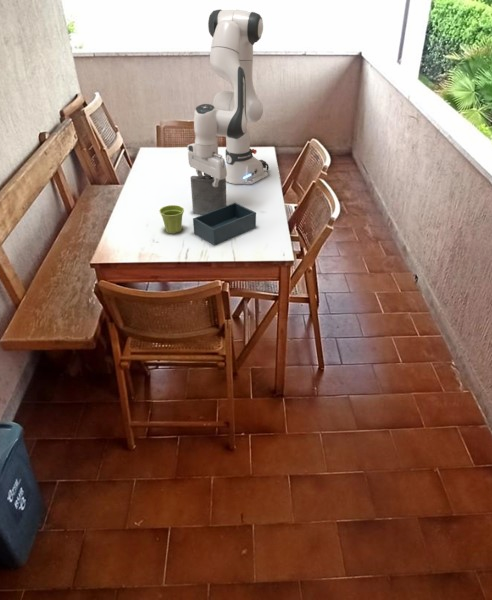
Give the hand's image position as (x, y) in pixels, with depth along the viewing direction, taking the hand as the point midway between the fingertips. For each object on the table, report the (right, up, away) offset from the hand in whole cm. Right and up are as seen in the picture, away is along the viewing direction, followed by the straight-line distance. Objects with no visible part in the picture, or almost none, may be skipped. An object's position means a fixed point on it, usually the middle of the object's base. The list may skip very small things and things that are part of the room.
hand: (208, 183), depth 197 cm
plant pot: (-13, -20, -4) cm, 24 cm away
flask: (0, -11, +8) cm, 14 cm away
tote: (+7, -20, -4) cm, 21 cm away
